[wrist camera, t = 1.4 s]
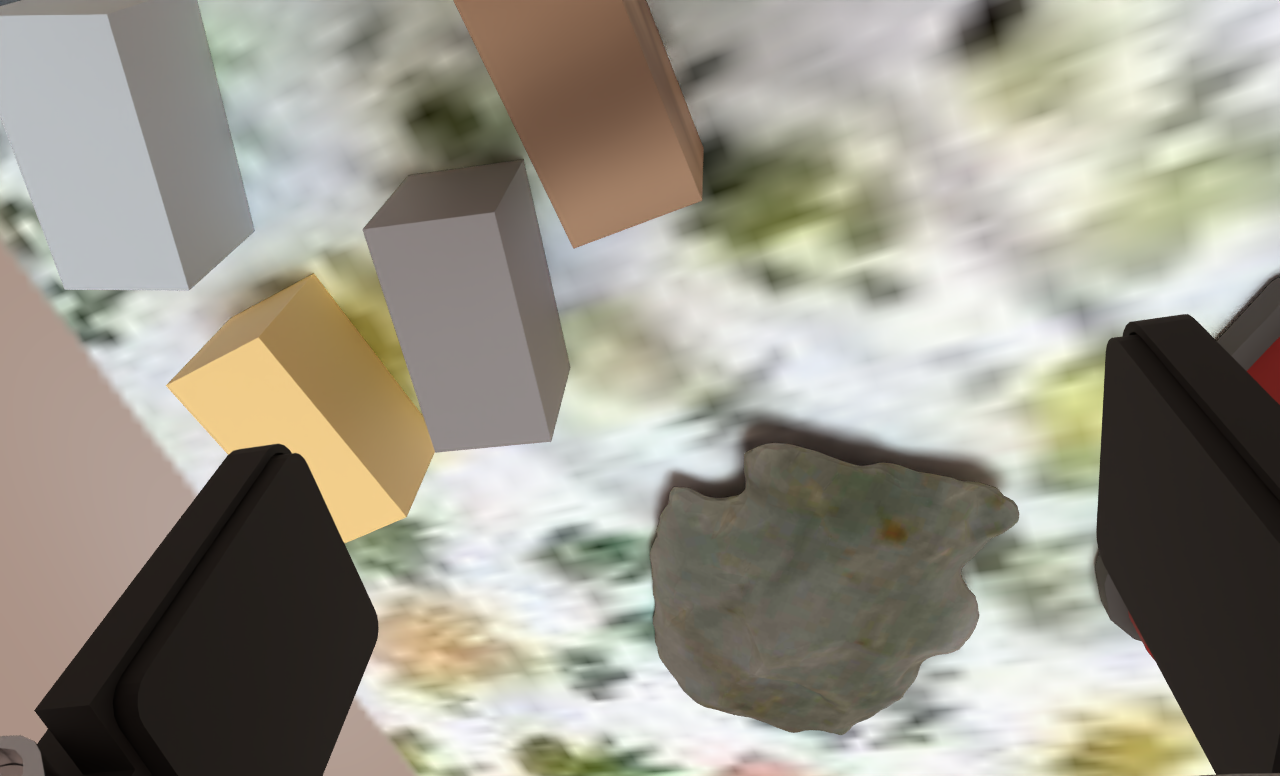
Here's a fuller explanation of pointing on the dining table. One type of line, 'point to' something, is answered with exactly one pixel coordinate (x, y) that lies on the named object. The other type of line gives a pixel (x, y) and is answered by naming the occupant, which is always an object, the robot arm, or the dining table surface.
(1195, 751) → the dining table surface
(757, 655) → the artifact
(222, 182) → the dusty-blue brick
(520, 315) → the charcoal brick
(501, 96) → the walnut brick
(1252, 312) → the bumper car
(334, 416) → the ochre brick
